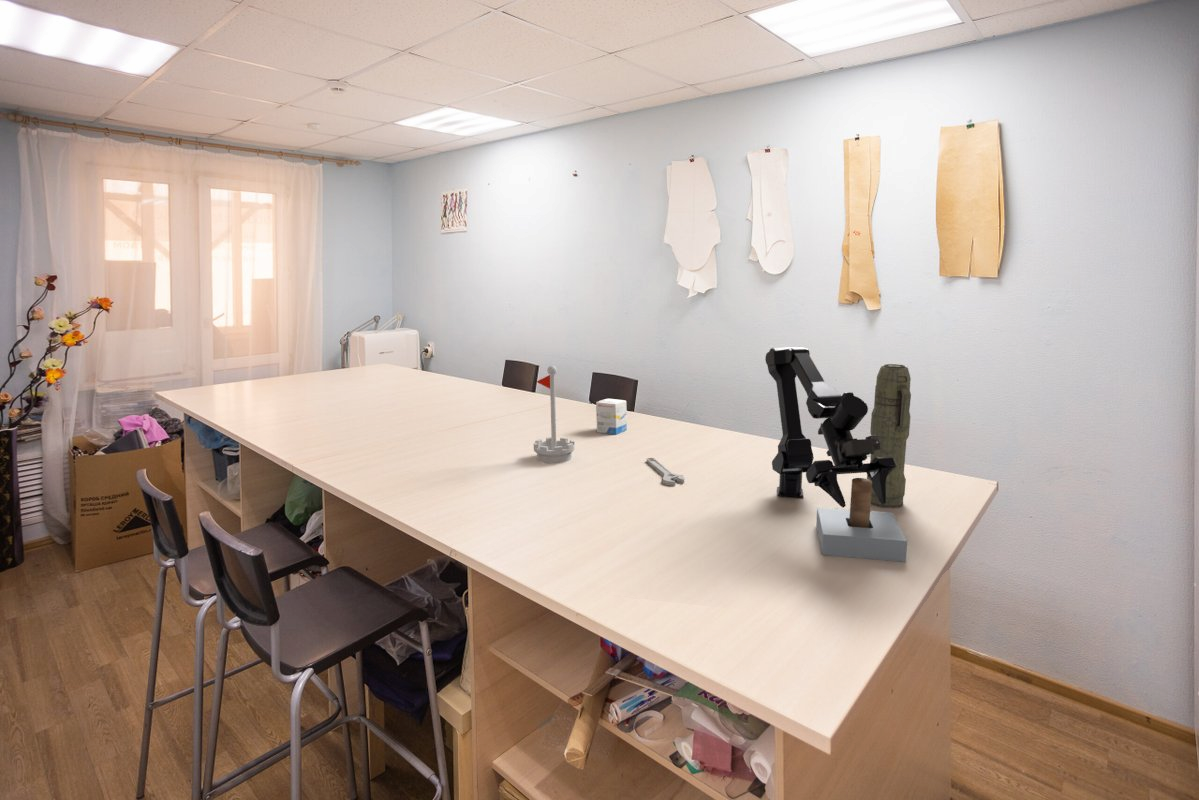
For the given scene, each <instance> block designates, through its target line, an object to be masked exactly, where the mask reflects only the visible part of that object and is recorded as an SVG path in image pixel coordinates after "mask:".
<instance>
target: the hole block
mask: <svg viewBox="0 0 1199 800" xmlns="http://www.w3.org/2000/svg"><path fill="white" fill-rule="evenodd" d="M849 518H850V509H847V508H845V509H843V508H831V507H816V525H815V526H816V530H817V531H816V533H817V535H818V536H817V537H818V541H819V546H820V551H821V555H823V556H831V557H832V556H834V557H843V558H844V557H845V558H846V557H847V558H856V559H869V560H882V561H889V562H890V561H893V562H901V563H906V561H907V549H908V540H907V537H906V536H905V533H904V532H903V530H902V528H901V526H900V524H899V522H898V520H897V519H896V517H895V515H894V513H893V512H891V511H890V512H887V511H875V510H874V511H871V510H870V520H869V528H862V527H849Z"/></svg>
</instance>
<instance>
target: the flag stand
mask: <svg viewBox="0 0 1199 800" xmlns="http://www.w3.org/2000/svg"><path fill="white" fill-rule="evenodd" d="M547 373H548V374H549V375H546V376H544V377H543V378H541V379H539V380H537V381H536V383H538V384H539V385H542V386H544V387H546V388H548V389H549V392H550V394H549V395H550V399H549V400H550V426H551V427H550V430H551V431H550V432H551V433H550V434H551V436H550V437H546V438H545V440H544V441H543V440H542V439H536V440H534V443H533V452H535V453H536V459H537V461H538V462H540V463H544V464H560V463H565V462H569V461H571V459H572V457H573V456H572V453H573V452H574V451H575V446H576V445H575V440H574V439H569V438H568V437H560V438H559V440H557V418H556V417H557V416H556V415H557V414H556V413H557V412H556V411H557V410H556V374H557V373H558V372H557V367H556V366H555V365H550V366H548V367H547Z"/></svg>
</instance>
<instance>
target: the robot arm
mask: <svg viewBox="0 0 1199 800" xmlns="http://www.w3.org/2000/svg"><path fill="white" fill-rule="evenodd" d="M810 355H811V353H810V350H809V349H808V348H806V347H805V346H803V347H802V346H799V347H791V346H790V347H771V348H770V349H769V350H768V352H766V354H765V363H766V365H767V371H768V373H769V375H770V376H771V377H772V379H773V381H775V383H776V390H777V399H778V405H779V406H778V407H779V414H780V422H781V430H782V436H781V439H780V441H779V442H778V445H777V454H776V455H775V457H774V458H773V459H772V462H771V467H772V468H771V469H772V470H773V471H774V472H776V473H777V474H779V480H778V481H779V483H778V484H779V485H778V486H776V491H777V496H778V497H787V498H801V499H802V498H805V497H804V496H805V495H804V490H803V487H802V485H803V473H805V477H806V480H807V483H808V484H814V486H815V487H819V488H820V489H821V490H823V491H824V492H825V493H826V494H827V495H829V497H831V498H832V499H833V500H834V501H835V502H836V504H838V505H839V506H840V507H841V509H843V508H845V507H846V505H847V504H846V501H845V497H844V495H843V493H842V490H841V487H840V485H839V482H838V475H845V474H846V475H847V474H859V473H860V474H861V473H866V476H867V475H868V477H870V478H871V479H870V480H871V481H872V488H873V490H874V492H875V494H876V496H877V498H878V499H879V501H880V502H881V504H885V503H886V478H887V476H888V475H889V474H890V473H891V472H892V471H893V470H894V469H895V468H896V467H897V465H896V463H895V460H894V459H893V458H892V457H890V456H884V457H875V458H874V459H873V460H872V461H871V462H869V463H868V462H867V463H863V462H864V461H866V460H867V459H868V456H869V455H871V454H875V452H874V451H876V450H879V449H880V448H881V446H880V441H879V439H878V437H877V435H874V436H871V435H868V436H865V438H864V439H863V438H862V439H860V438H859V439H858V438H854V437H853V435H852V432H851V431H853V430H854V429H856V428H857V426H858V425H859V424H860V422H861V421H862V420H863V419H864V417H865V416H866V415H867V414H868V412H869V407H868V404H867V403H866V402H865V401H864V400H863V399H861V398H860V397H858V396H856V395H855V394H854V393H853V392H852V391H847V392H846V391H845V392H843V393H842V395H841V394H840V393H839V391H838V390H837V389H836V388H835V387H833V386H831V385H829V384H827V383H826V381H825V379H824V378H823V376H822V375H821V373H820V371H819V369H818V368H817V365H816V364H815V363H814V361H813V359H812V357H811V356H810ZM796 378H797V379H798V380H799V382H800V384H801V386H802V387H803V389H804V390H805V393H806V395H807V398H806V402H805V404H806V407H807V410H808V413H809V414H810V416H811V417H812V418H813V419H824V420H823V422H821V423H820V426H819V428H818V429H817V430H818V431H817V435H823V437H824V441H825V443H826V446H827V448H828V449H827V452H826V455H827V457H831V460H829V459H823V460H814V457H815V456H814V452H813V450H812V440H811V439H810V438H806V436H805V435H804V434H803V431H802V430H803V429H802V423H801V416H800V409H799V408H800V405H799V401H798V399H799V398H798V393H797V383H796Z"/></svg>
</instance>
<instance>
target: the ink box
mask: <svg viewBox="0 0 1199 800" xmlns="http://www.w3.org/2000/svg"><path fill="white" fill-rule="evenodd" d="M595 408H596V409H595V410H596V411H595V412H596V415H595V416H596V433H602V434H609V435H618V434H620V433H624V432H625V431H627V424H628V423H627V418H628V417H627V400H624V399H615V398H605V399H602V400H599V401H596V402H595Z"/></svg>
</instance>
